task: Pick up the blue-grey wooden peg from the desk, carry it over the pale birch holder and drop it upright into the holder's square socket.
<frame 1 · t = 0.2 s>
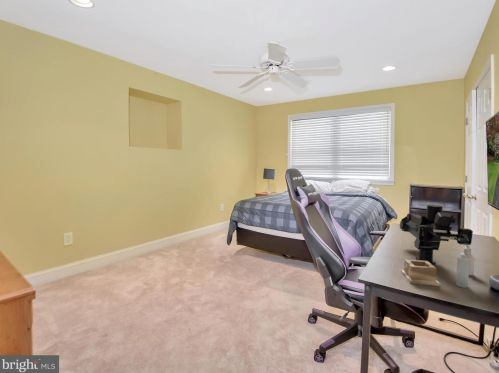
hand: (454, 241, 103), 17 cm above the table, tool horizontal, fingers open, 9 cm apart
bottle holder: (419, 278, 110), on the table
peg: (461, 285, 103), on the table
eye dropper bottle: (466, 273, 115), on the table
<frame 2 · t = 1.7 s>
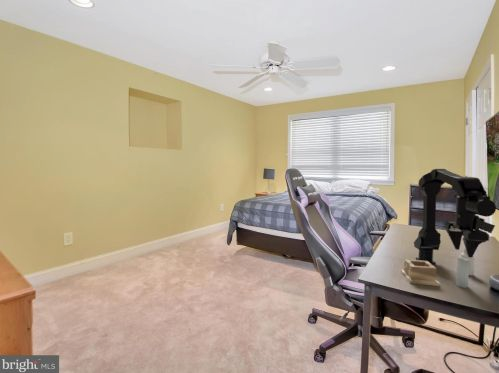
hand: (463, 253, 102), 12 cm above the table, tool pointing down, fingers open, 9 cm apart
nothing on the table moved.
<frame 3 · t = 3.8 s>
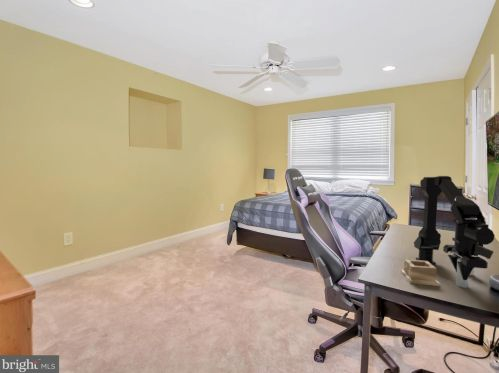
hand: (462, 277, 103), 3 cm above the table, tool pointing down, fingers closed on peg, 3 cm apart
peg: (461, 285, 103), on the table, touching gripper
everything else where it was.
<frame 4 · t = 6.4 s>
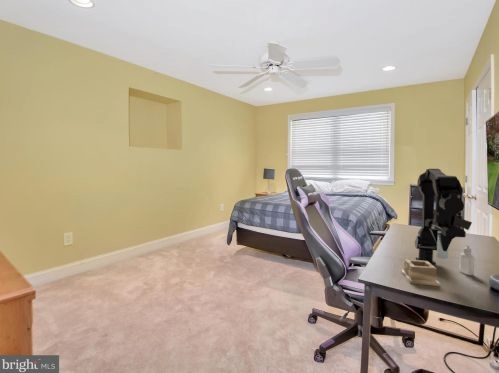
hand: (442, 249, 105), 13 cm above the table, tool pointing down, fingers closed on peg, 3 cm apart
peg: (442, 257, 105), point 10 cm above the table, touching gripper
everything else where it was.
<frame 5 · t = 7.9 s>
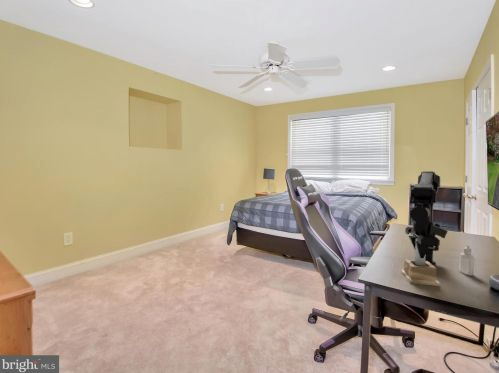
hand: (420, 256, 109), 9 cm above the table, tool pointing down, fingers closed on peg, 3 cm apart
peg: (419, 264, 109), point 6 cm above the table, touching gripper
everything else where it was.
when the fingers open (7 cm above the table, at t = 9.0 s): peg drops 3 cm, resting on bottle holder.
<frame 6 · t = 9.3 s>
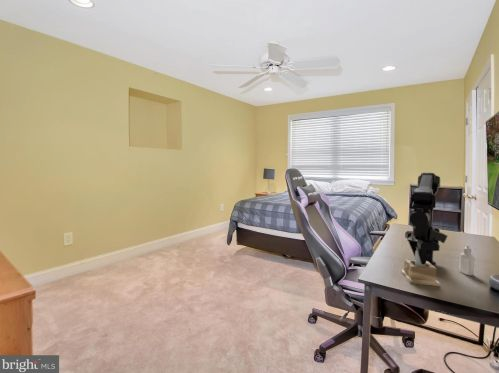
hand: (420, 261, 109), 7 cm above the table, tool pointing down, fingers open, 6 cm apart
peg: (419, 275, 110), point 1 cm above the table, touching bottle holder
everything else where it was.
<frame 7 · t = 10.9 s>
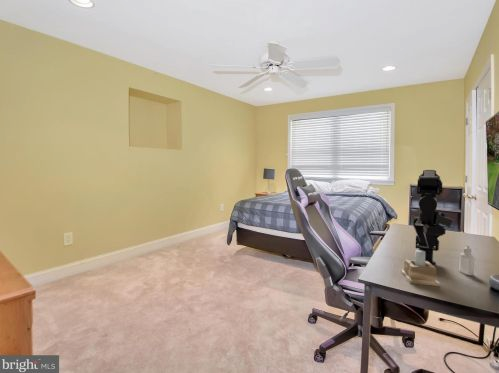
hand: (426, 245, 111), 13 cm above the table, tool pointing down, fingers open, 9 cm apart
nothing on the table moved.
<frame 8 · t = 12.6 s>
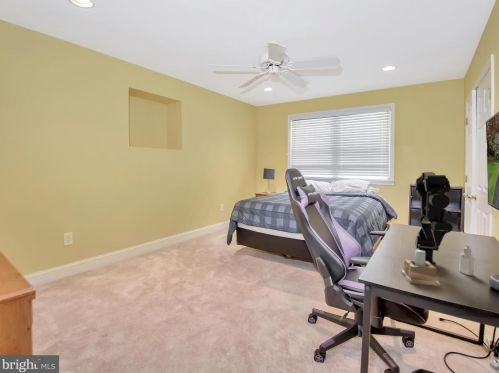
hand: (433, 242, 114), 13 cm above the table, tool pointing down, fingers open, 9 cm apart
nothing on the table moved.
at the end: peg 0.0 cm off-centre on the bottle holder, point 1.0 cm above the bottle holder's base; peg tilted 1°; the gripper is holding nothing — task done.
